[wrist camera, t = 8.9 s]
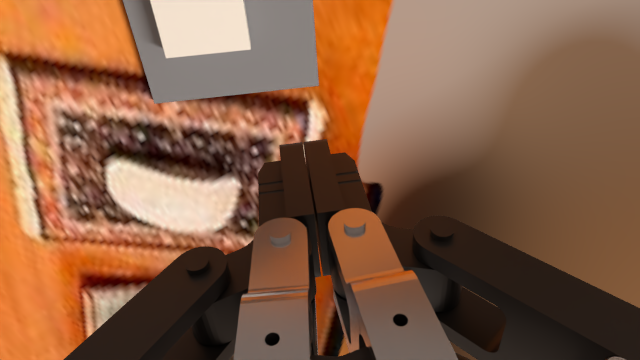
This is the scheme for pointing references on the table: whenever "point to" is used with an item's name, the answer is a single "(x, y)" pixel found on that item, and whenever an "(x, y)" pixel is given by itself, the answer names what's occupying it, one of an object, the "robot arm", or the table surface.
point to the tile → (201, 26)
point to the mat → (233, 54)
